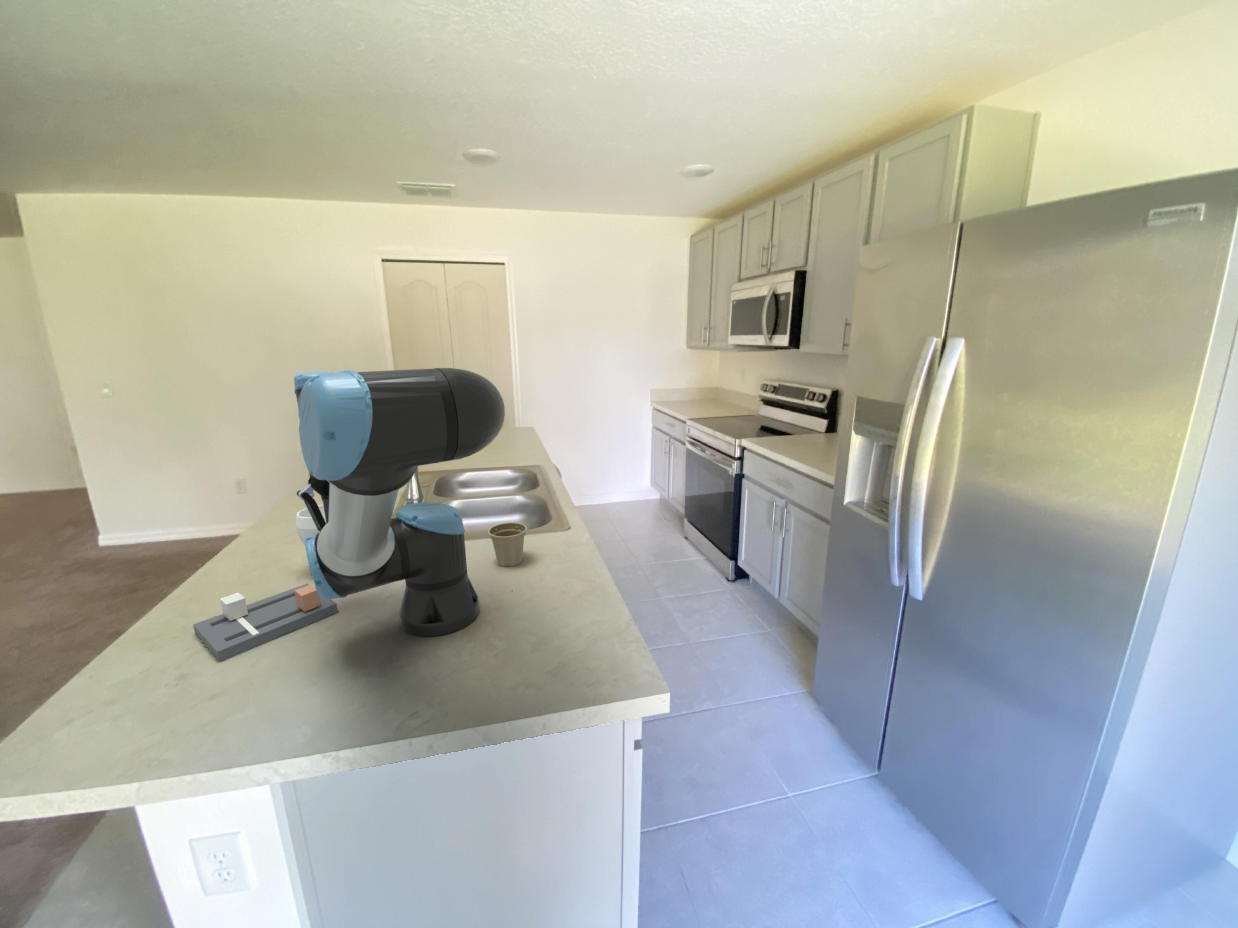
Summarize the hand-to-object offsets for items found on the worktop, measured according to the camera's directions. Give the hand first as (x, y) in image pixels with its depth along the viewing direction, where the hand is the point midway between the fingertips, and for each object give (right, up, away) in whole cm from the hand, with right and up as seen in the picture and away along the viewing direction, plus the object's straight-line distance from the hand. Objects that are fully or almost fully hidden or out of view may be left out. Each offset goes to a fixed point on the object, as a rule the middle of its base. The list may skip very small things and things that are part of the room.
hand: (344, 559), depth 105 cm
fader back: (-17, -9, -8) cm, 21 cm away
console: (-11, -11, -6) cm, 17 cm away
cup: (-13, -6, +16) cm, 21 cm away
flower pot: (+31, -4, +20) cm, 37 cm away
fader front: (-5, -8, -5) cm, 11 cm away
